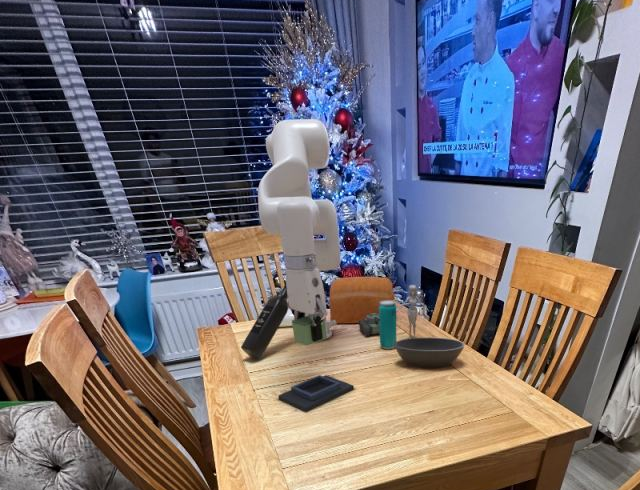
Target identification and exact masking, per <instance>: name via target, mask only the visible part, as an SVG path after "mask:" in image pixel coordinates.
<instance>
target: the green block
mask: <svg viewBox="0 0 640 490" xmlns="http://www.w3.org/2000/svg"><path fill="white" fill-rule="evenodd" d="M316 317H317V316H316V315H314V318H315V319H316ZM311 326H312V323H311V320H310V317H309V316H305V317H302V318H299V319H296V320H292V326H291V327H292V331H293V338H294V342H295V343H298V344H300V345H303V346H311V345H313V344H316V343H318V342H321V341H325V340H327V339H328V338H327V336H326V327H325V318H324V320H323V324H321V326H322V335H323V339H322V340H319V341H316V342H313V341H312V334H311Z"/></svg>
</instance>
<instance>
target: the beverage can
mask: <svg viewBox="0 0 640 490" xmlns="http://www.w3.org/2000/svg"><path fill="white" fill-rule="evenodd" d="M396 311H397V305H396V301H395V300H394V301H393V300H383V301H380V306H379V323H380V334H379V344H380V347H381V348H382V349H383V350H394V349H396V348H395V345H394V343H395V342H397V341H398V340H397V313H396Z"/></svg>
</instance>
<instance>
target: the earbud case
mask: <svg viewBox="0 0 640 490" xmlns="http://www.w3.org/2000/svg"><path fill="white" fill-rule="evenodd" d="M292 320H294V315H293V314H292V311H291V310H290V309H289V308H288V311H287V313H286V315H285V317H284V319H283V320H282V322H281V324H280V326H279V328H284V327H285V328H286V327H293V326H292Z"/></svg>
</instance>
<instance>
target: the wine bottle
mask: <svg viewBox="0 0 640 490" xmlns="http://www.w3.org/2000/svg"><path fill="white" fill-rule="evenodd" d="M287 304H288V295H287V287H286V283H285V284H284V286H283V288H282V289H281V291H280V293H279V294H274V295H272V296H270V297H269V298H268V299H267V301H266V302H265V304H264V306H263V308H262V310H261V312H260V314H259V315H258V317H257V318H256V319H255V321H254V324H253V325H252V327H251V329H250V331H249V332H248V334H247V336H245V339H244V340H243V343H242V344H241V346H240V349H241V350H242V351H243V352H244V353H246V354H247V356H249V357H250V358H253V359H257V360H261V359H262V358H263V356H264V354H265V352H266V351H267V348H268V347H269V345H270V343H271V342H272V340H273V338H274V336H275V335H276V333H277V331H278V329H279V328H280V327H279V326H280V324H281V322H282V320H283V319H284V317H285V315H286V313H287V311H288V309H289V307H288V306H287Z"/></svg>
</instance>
